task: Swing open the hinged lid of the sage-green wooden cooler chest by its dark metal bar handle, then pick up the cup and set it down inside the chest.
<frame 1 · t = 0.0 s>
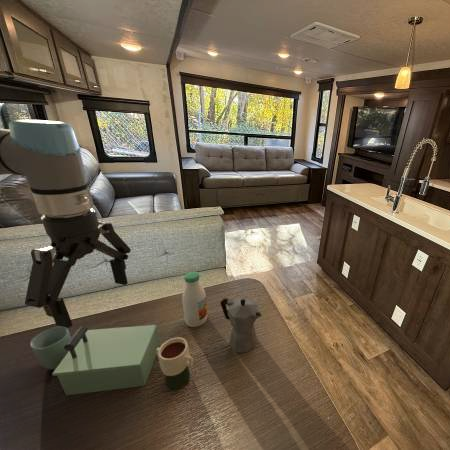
hand: (96, 301, 54), 31 cm above the table, tool pointing down, fingers open, 13 cm apart
coffeepot: (240, 340, 85), on the table
lid: (108, 340, 68), point 11 cm above the table, hinge at 0.0°
character mug: (178, 380, 71), on the table
cup: (60, 362, 72), on the table
chest: (118, 367, 72), on the table
milk bottle: (196, 320, 91), on the table
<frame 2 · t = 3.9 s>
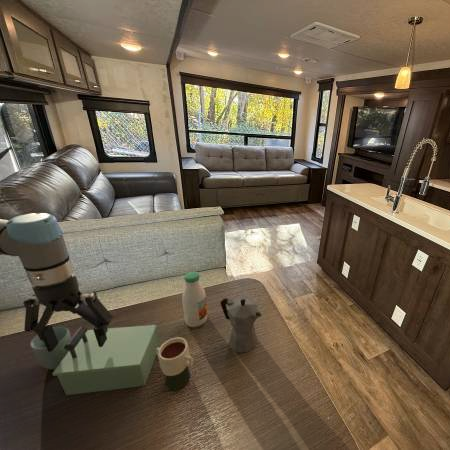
hand: (78, 345, 67), 10 cm above the table, tool pointing down, fingers open, 11 cm apart
cup: (60, 362, 72), on the table, touching gripper
everything else where it was.
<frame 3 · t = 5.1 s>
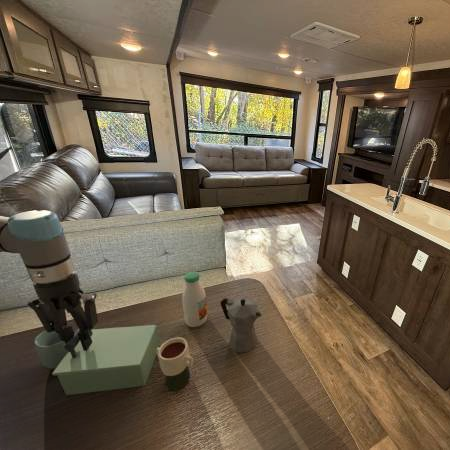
hand: (80, 346, 67), 9 cm above the table, tool pointing down, fingers open, 3 cm apart
lid: (108, 340, 68), point 11 cm above the table, hinge at 0.3°, touching gripper
cup: (60, 361, 72), on the table
everything else where it was.
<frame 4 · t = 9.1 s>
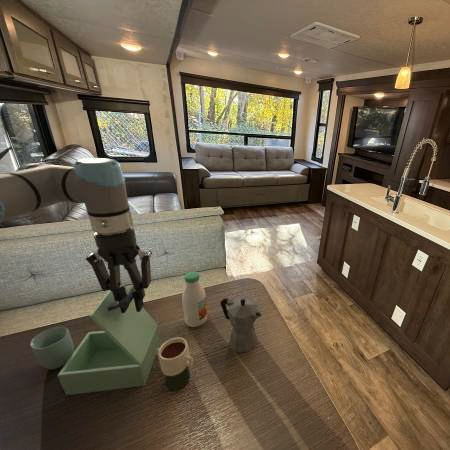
hand: (133, 308, 65), 22 cm above the table, tool pointing down, fingers open, 3 cm apart
lid: (138, 318, 67), point 18 cm above the table, hinge at 67.7°, touching gripper
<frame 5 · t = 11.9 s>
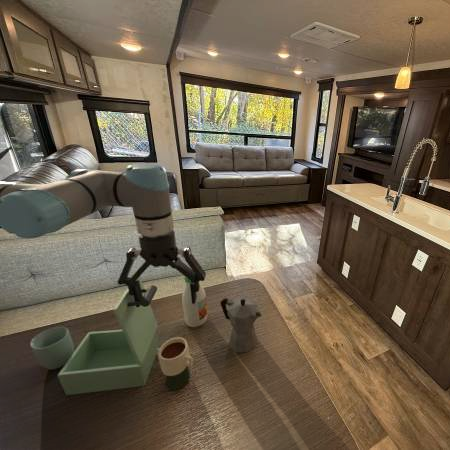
hand: (167, 302, 67), 23 cm above the table, tool pointing down, fingers open, 13 cm apart
lid: (149, 317, 67), point 18 cm above the table, hinge at 83.2°, touching gripper
everything else where it was.
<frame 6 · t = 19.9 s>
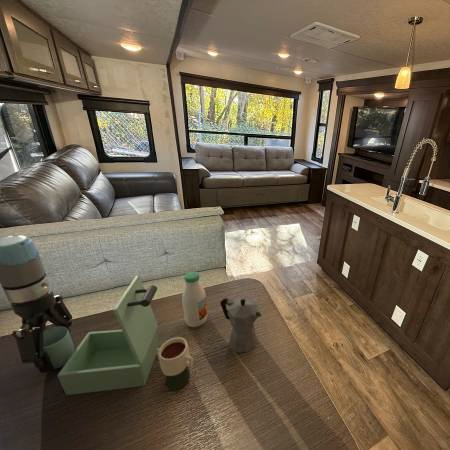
hand: (58, 356, 72), 2 cm above the table, tool pointing down, fingers closed on cup, 8 cm apart
lid: (149, 317, 67), point 18 cm above the table, hinge at 83.2°
cup: (60, 362, 72), on the table, touching gripper
everything else where it was.
when the fingers open (3 cm above the table, at t = 30.4 s): cup stays where it is, resting on chest.
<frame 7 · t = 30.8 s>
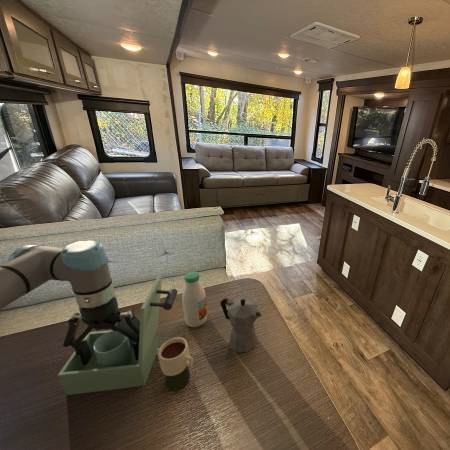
hand: (113, 358, 71), 4 cm above the table, tool pointing down, fingers open, 12 cm apart
lid: (161, 318, 68), point 17 cm above the table, hinge at 100.5°, touching gripper
cup: (117, 365, 72), point 1 cm above the table, touching chest
everything else where it was.
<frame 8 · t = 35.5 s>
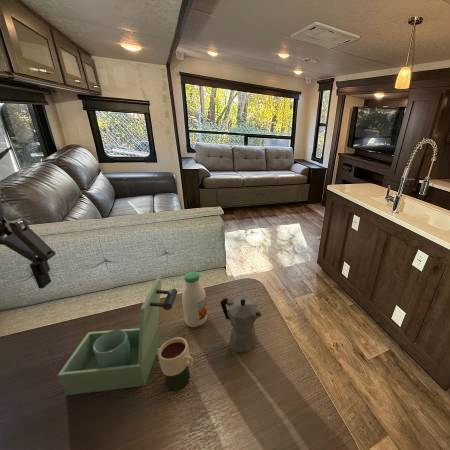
hand: (9, 286, 56), 31 cm above the table, tool pointing down, fingers open, 13 cm apart
lid: (160, 318, 68), point 17 cm above the table, hinge at 100.3°
everything else where it was.
at the end: lid at +100° (first picture: +0°); cup inside the target area in the chest (0.0 cm from its centre), point 0.6 cm above the chest's base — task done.
